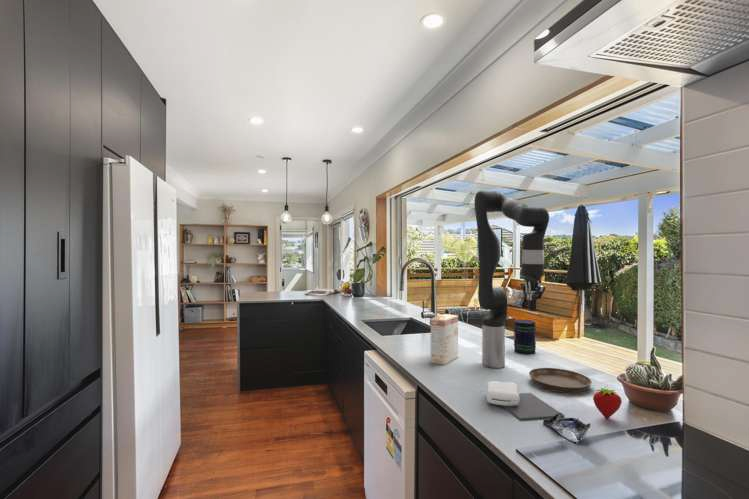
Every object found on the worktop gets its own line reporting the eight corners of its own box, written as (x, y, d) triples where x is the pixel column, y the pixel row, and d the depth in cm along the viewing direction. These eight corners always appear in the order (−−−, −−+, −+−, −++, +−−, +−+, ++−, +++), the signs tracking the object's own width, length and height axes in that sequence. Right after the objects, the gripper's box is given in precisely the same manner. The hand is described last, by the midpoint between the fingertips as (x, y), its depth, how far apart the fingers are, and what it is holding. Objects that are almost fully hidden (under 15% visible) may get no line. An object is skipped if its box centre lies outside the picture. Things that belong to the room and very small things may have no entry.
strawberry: (626, 423, 108) (626, 387, 108) (599, 422, 108) (599, 387, 108) (614, 414, 114) (614, 380, 114) (588, 413, 114) (588, 380, 114)
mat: (491, 396, 127) (491, 395, 127) (530, 394, 130) (530, 392, 130) (520, 420, 110) (520, 418, 110) (564, 417, 112) (564, 415, 112)
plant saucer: (605, 393, 132) (605, 383, 132) (553, 398, 127) (553, 388, 127) (564, 374, 152) (564, 366, 152) (517, 378, 147) (517, 369, 147)
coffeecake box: (444, 354, 179) (444, 313, 180) (458, 357, 175) (458, 315, 175) (429, 362, 167) (429, 318, 167) (444, 365, 163) (444, 319, 163)
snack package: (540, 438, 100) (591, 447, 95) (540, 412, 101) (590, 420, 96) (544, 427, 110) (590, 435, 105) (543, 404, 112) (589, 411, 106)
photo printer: (518, 382, 127) (520, 395, 115) (518, 395, 127) (520, 410, 115) (486, 379, 130) (485, 391, 119) (486, 391, 130) (484, 405, 119)
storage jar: (516, 354, 181) (516, 322, 181) (512, 349, 190) (512, 319, 190) (538, 355, 179) (538, 323, 179) (533, 349, 189) (533, 319, 189)
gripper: (553, 263, 131) (552, 313, 131) (532, 261, 144) (532, 307, 144) (532, 263, 130) (532, 314, 130) (513, 261, 143) (513, 307, 143)
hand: (532, 310), depth 137 cm, fingers closed
